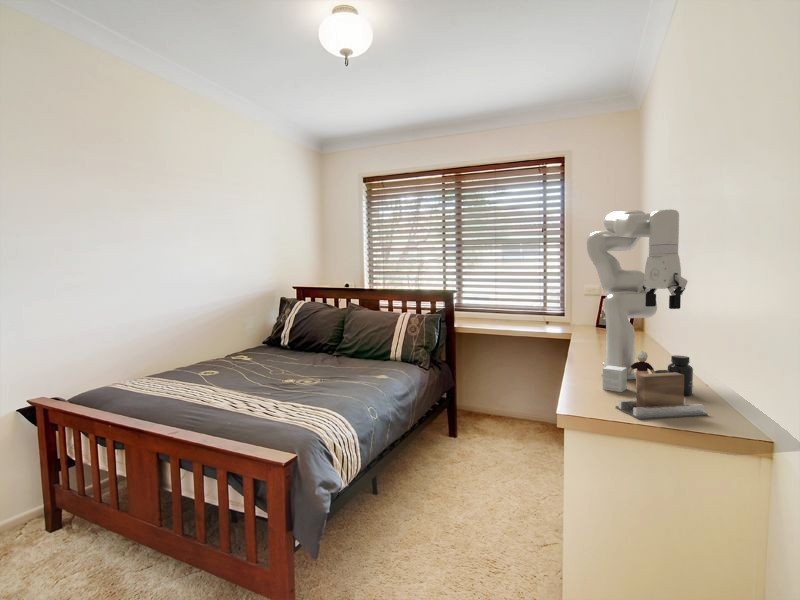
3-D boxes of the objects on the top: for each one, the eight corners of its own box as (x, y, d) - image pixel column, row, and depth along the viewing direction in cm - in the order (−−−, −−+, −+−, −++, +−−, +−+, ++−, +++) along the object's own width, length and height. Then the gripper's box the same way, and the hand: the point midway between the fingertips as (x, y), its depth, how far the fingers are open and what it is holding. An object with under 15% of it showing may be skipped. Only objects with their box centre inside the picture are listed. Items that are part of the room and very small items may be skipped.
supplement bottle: (696, 396, 128) (697, 358, 127) (672, 395, 129) (673, 358, 129) (686, 390, 135) (687, 354, 134) (663, 390, 136) (663, 354, 135)
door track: (615, 407, 119) (615, 399, 119) (678, 404, 121) (678, 395, 121) (639, 419, 109) (639, 410, 109) (707, 415, 111) (707, 406, 111)
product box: (627, 388, 138) (627, 367, 138) (621, 392, 134) (622, 370, 133) (607, 385, 142) (608, 365, 142) (601, 389, 138) (602, 368, 137)
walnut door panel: (636, 409, 116) (637, 374, 115) (675, 406, 117) (675, 372, 117) (644, 412, 113) (644, 376, 112) (683, 410, 114) (684, 374, 114)
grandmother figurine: (652, 387, 139) (653, 350, 138) (656, 390, 135) (656, 352, 134) (627, 386, 141) (627, 349, 140) (629, 389, 137) (630, 351, 137)
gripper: (632, 253, 132) (631, 305, 133) (674, 249, 115) (672, 310, 116) (653, 253, 133) (652, 305, 134) (698, 249, 116) (696, 309, 117)
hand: (662, 307), depth 125 cm, fingers open, 9 cm apart
